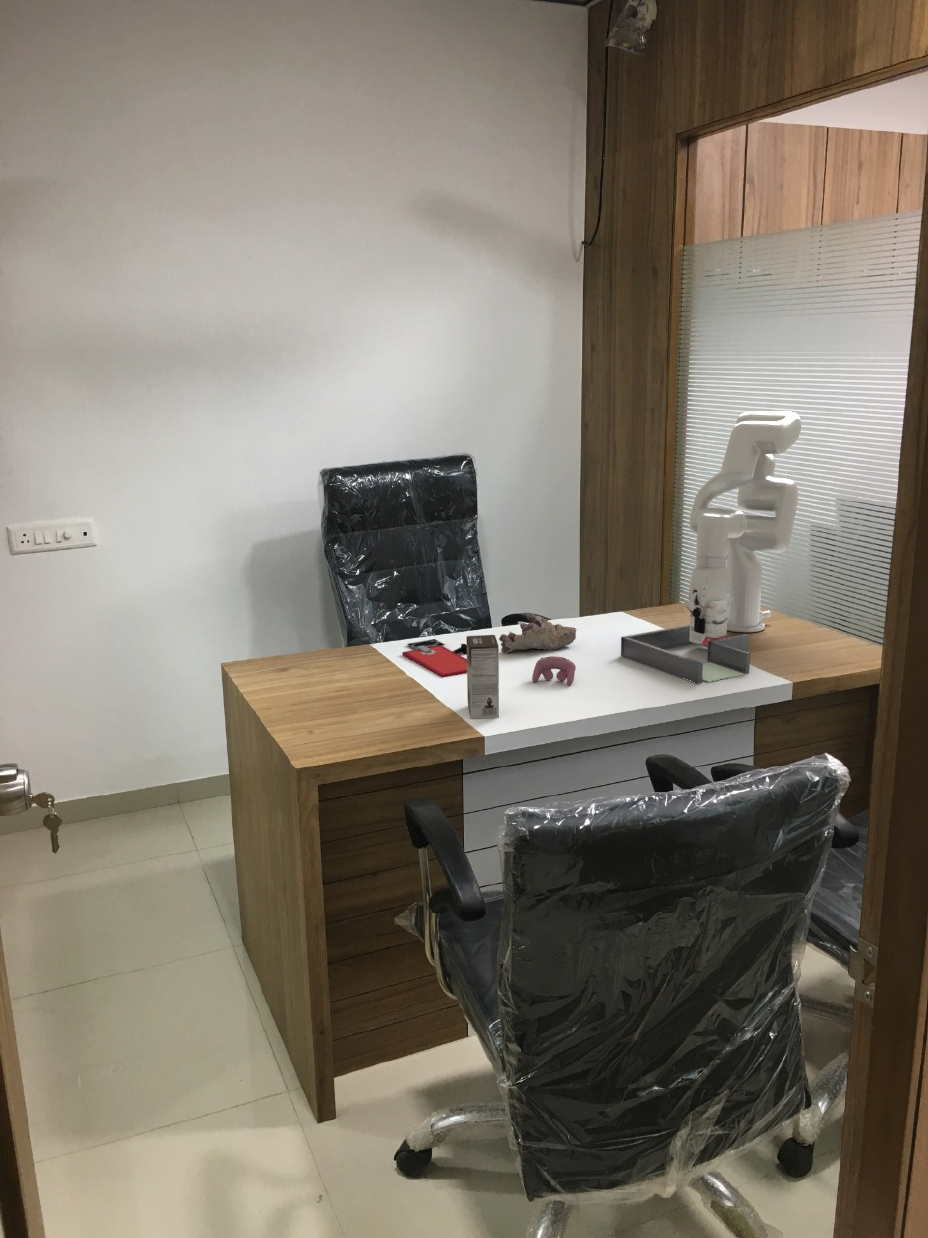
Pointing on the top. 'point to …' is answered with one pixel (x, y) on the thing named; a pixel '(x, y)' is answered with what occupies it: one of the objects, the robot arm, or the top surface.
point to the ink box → (711, 623)
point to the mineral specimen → (538, 635)
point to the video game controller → (554, 662)
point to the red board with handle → (438, 657)
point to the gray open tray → (652, 654)
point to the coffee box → (483, 676)
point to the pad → (717, 672)
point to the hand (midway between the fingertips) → (708, 630)
